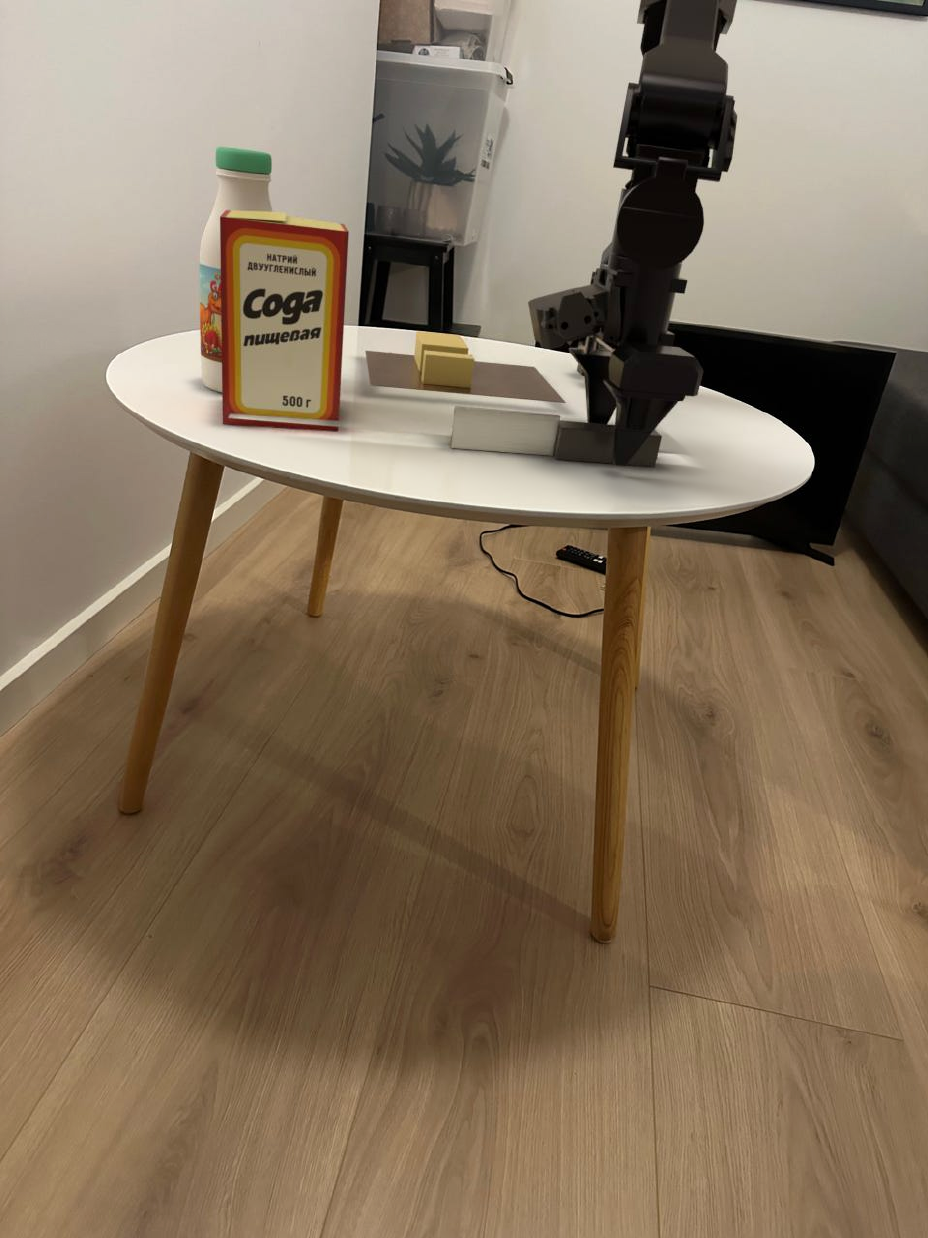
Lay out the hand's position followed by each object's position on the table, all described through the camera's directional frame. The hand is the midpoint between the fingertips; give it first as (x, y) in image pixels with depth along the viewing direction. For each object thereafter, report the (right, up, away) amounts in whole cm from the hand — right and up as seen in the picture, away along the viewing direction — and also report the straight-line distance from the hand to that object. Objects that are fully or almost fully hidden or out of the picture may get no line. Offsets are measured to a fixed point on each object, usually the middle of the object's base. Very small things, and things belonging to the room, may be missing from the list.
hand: (606, 449), depth 74 cm
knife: (-5, 0, 0) cm, 5 cm away
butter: (-15, +13, +20) cm, 29 cm away
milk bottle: (-33, +7, +7) cm, 35 cm away
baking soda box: (-28, +3, 0) cm, 28 cm away
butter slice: (-14, +10, +14) cm, 22 cm away
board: (-13, +11, +19) cm, 25 cm away
